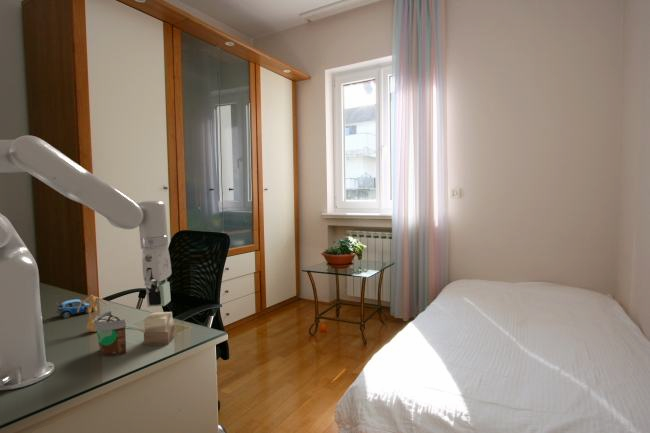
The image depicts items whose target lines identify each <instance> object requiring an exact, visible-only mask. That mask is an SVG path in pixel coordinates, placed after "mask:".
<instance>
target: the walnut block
mask: <svg viewBox="0 0 650 433" xmlns="http://www.w3.org/2000/svg"><path fill="white" fill-rule="evenodd" d="M177 335H178V330H177V323H173V325H172V326H171V327H170V328H169V329H168V330H167V331H166V332H151V333H145V331H144V332H143V341H144V346H160V345H161V346H162V345H164V346H165V345H170V344H171V343H172V342H173V340H174V339H175V337H177Z"/></svg>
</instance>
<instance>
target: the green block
mask: <svg viewBox="0 0 650 433" xmlns="http://www.w3.org/2000/svg"><path fill="white" fill-rule="evenodd" d="M152 284H154V285H155V283H152ZM159 291H160V297H161V304H160V305H149V294H148V289H147V287H146V286H145V293H146V303H147V308H151V307H166V305H168V304H169V303H170V302H171V300H172V299H171V298H172V297H171V286H170V281H167V282H159Z"/></svg>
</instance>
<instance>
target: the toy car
mask: <svg viewBox="0 0 650 433" xmlns="http://www.w3.org/2000/svg"><path fill="white" fill-rule="evenodd" d="M82 301H83V300H81V299H79V298H78V299H77V298H75V299H70V300H69V299H68V300H65V301H63V302H62V303H60V302H55V304H56V307H57V309H56V314H57V315H58V316H61V317H62V318H63V319H68V318H70V317H71V316H73V315H78V314H82V313H85V314H89V313H88V308H87V307H88V306H89V307H90V304H89V303H88V301H85V302H83V303H82V304H81V307H80V308H79V312H77V311H78V307H79V305H80V302H82ZM91 309H92V311H91V313H92V312H93V311H94V310H93V308H91ZM94 312H95V311H94Z"/></svg>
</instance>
